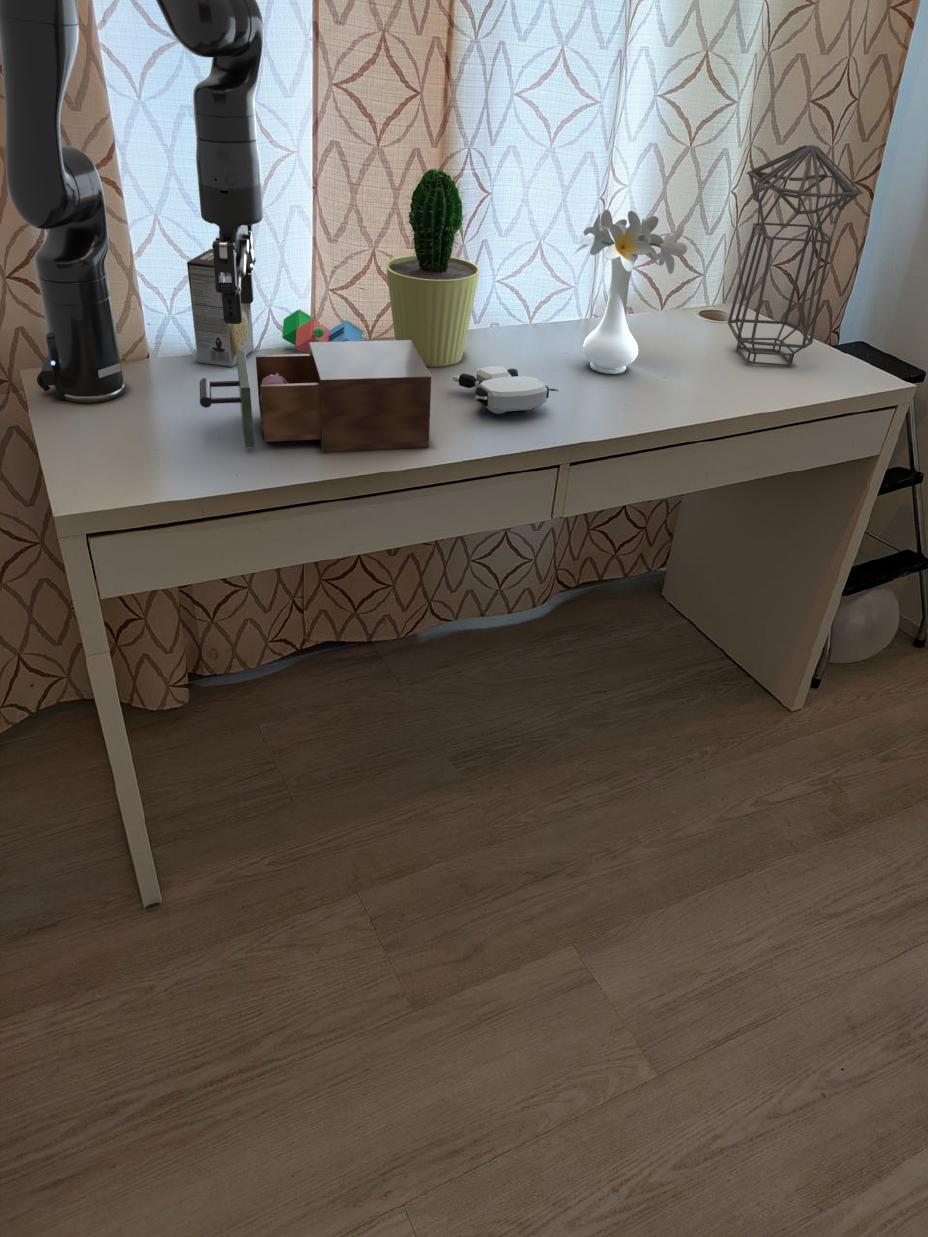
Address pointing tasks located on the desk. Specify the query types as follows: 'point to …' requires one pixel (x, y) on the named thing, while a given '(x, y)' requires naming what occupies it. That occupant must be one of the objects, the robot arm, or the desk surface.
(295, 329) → the building blocks
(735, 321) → the geometric lantern
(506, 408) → the robot toy
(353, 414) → the cabinet
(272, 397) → the drawer
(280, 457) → the desk surface
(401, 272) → the potted cactus
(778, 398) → the desk surface
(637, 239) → the flower vase
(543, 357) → the desk surface
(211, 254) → the coffee box
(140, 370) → the desk surface
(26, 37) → the robot arm
